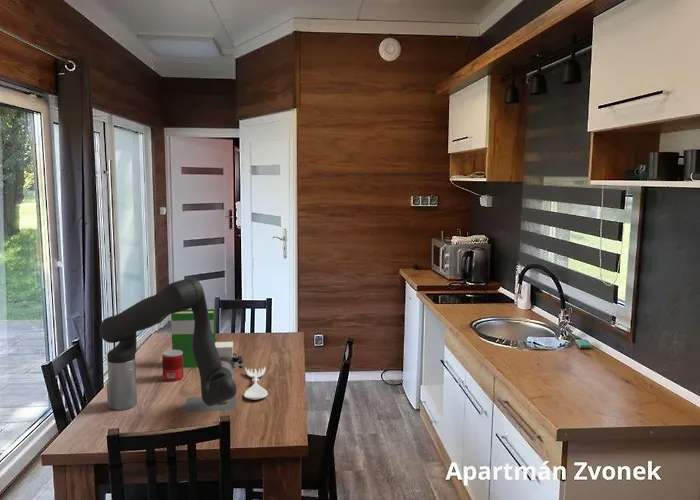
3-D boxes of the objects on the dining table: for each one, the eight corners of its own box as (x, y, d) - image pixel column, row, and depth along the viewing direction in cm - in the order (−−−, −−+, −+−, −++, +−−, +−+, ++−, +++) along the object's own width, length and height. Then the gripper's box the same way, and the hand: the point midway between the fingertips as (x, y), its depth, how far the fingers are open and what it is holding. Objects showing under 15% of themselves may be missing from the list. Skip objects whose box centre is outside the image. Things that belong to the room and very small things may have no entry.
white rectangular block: (214, 377, 195) (214, 347, 193) (215, 371, 201) (215, 342, 199) (232, 376, 196) (232, 347, 194) (233, 370, 202) (233, 341, 201)
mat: (183, 413, 191) (182, 404, 190) (187, 398, 204) (187, 390, 203) (235, 410, 194) (235, 401, 194) (236, 396, 207) (236, 387, 206)
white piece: (266, 372, 233) (266, 365, 232) (268, 403, 201) (268, 394, 201) (244, 373, 231) (244, 366, 230) (243, 404, 200) (243, 395, 199)
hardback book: (216, 361, 246) (215, 309, 243) (214, 366, 239) (213, 313, 235) (175, 362, 243) (174, 309, 240) (172, 368, 236) (171, 313, 233)
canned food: (187, 378, 224) (186, 352, 223) (169, 383, 219) (168, 356, 217) (177, 373, 230) (176, 348, 228) (159, 378, 224) (158, 352, 222)
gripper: (243, 360, 184) (244, 345, 201) (199, 362, 182) (203, 346, 198) (243, 381, 185) (244, 364, 202) (199, 383, 183) (204, 366, 199)
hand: (224, 355), depth 200 cm, fingers closed on white rectangular block, 6 cm apart
